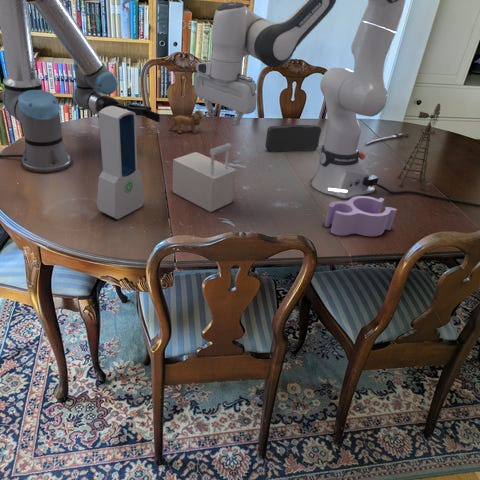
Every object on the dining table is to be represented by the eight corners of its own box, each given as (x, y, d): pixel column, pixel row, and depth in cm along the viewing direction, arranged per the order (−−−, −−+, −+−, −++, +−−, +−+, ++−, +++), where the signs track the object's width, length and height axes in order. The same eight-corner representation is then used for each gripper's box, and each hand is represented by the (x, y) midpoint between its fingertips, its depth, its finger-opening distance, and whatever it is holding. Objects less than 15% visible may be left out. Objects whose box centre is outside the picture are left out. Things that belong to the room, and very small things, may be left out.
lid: (236, 173, 143) (239, 145, 138) (213, 182, 137) (215, 153, 131) (195, 155, 152) (197, 127, 147) (172, 163, 145) (173, 134, 140)
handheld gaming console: (315, 147, 196) (319, 124, 190) (317, 149, 194) (322, 126, 188) (264, 149, 189) (267, 125, 183) (266, 152, 187) (269, 127, 181)
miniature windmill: (423, 190, 169) (451, 109, 153) (399, 186, 170) (425, 105, 154) (420, 180, 177) (446, 101, 161) (397, 176, 178) (421, 97, 162)
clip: (337, 240, 135) (342, 219, 131) (318, 218, 145) (322, 198, 141) (395, 233, 141) (402, 213, 137) (373, 213, 151) (378, 194, 147)
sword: (404, 132, 222) (404, 130, 221) (409, 135, 220) (410, 132, 219) (360, 144, 206) (361, 142, 205) (366, 147, 204) (366, 144, 203)
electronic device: (115, 221, 132) (108, 118, 116) (96, 212, 135) (87, 110, 119) (145, 205, 142) (142, 107, 125) (126, 197, 145) (122, 101, 128)
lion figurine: (200, 128, 202) (201, 108, 197) (204, 133, 198) (205, 112, 193) (167, 129, 197) (167, 108, 192) (170, 134, 193) (170, 113, 188)
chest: (232, 201, 149) (235, 173, 144) (210, 212, 142) (212, 182, 137) (194, 183, 158) (195, 155, 152) (172, 192, 151) (172, 163, 145)
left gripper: (133, 109, 178) (171, 125, 167) (75, 123, 161) (113, 142, 150) (131, 89, 173) (170, 104, 163) (72, 102, 157) (111, 119, 146)
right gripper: (264, 77, 121) (258, 128, 129) (207, 60, 132) (205, 109, 139) (248, 80, 117) (243, 133, 125) (191, 63, 128) (190, 112, 135)
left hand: (143, 122), depth 156 cm, fingers open, 13 cm apart
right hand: (222, 120), depth 132 cm, fingers open, 8 cm apart
